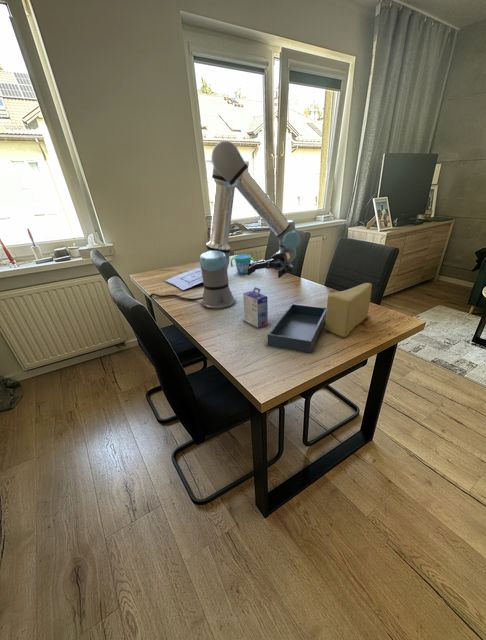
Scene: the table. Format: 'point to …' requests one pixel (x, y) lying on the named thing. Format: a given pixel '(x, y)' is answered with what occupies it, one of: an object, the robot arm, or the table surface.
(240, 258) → the snack cup
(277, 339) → the bin
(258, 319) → the ink cartridge box
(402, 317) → the table surface
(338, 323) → the cheese
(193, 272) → the papers
